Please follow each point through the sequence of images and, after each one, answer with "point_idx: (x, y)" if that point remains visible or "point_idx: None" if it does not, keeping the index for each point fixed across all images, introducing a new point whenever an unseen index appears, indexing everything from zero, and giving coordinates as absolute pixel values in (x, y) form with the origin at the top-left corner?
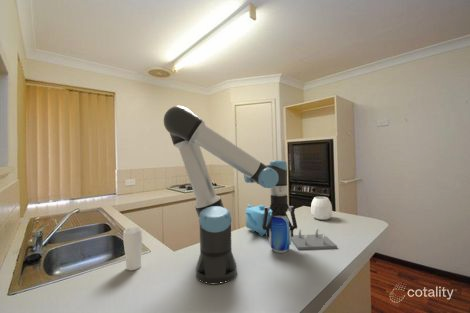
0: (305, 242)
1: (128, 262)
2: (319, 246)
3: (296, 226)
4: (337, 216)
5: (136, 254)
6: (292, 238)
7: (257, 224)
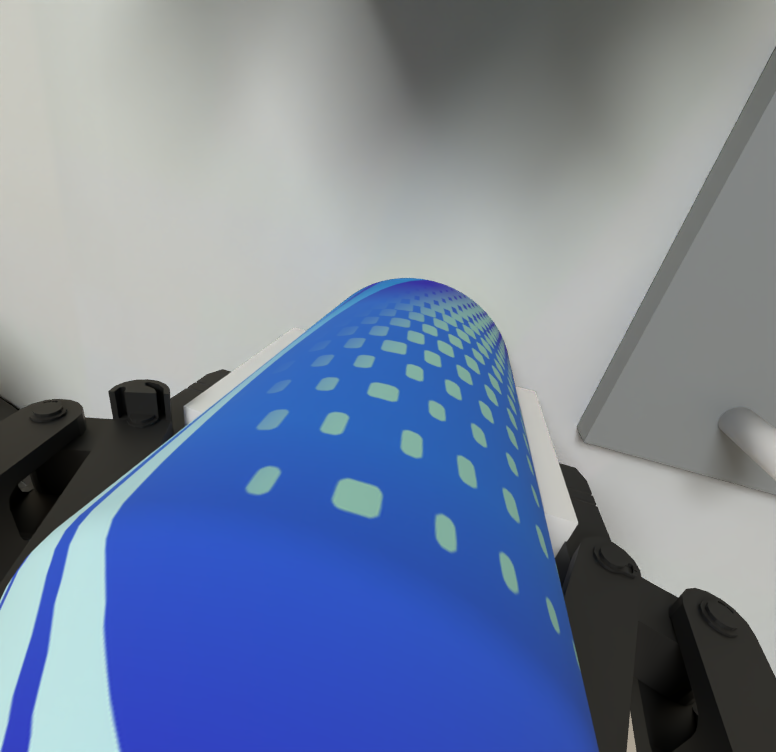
0: (736, 441)
1: None
2: None
3: (672, 703)
4: None
5: None
6: (737, 192)
7: None
